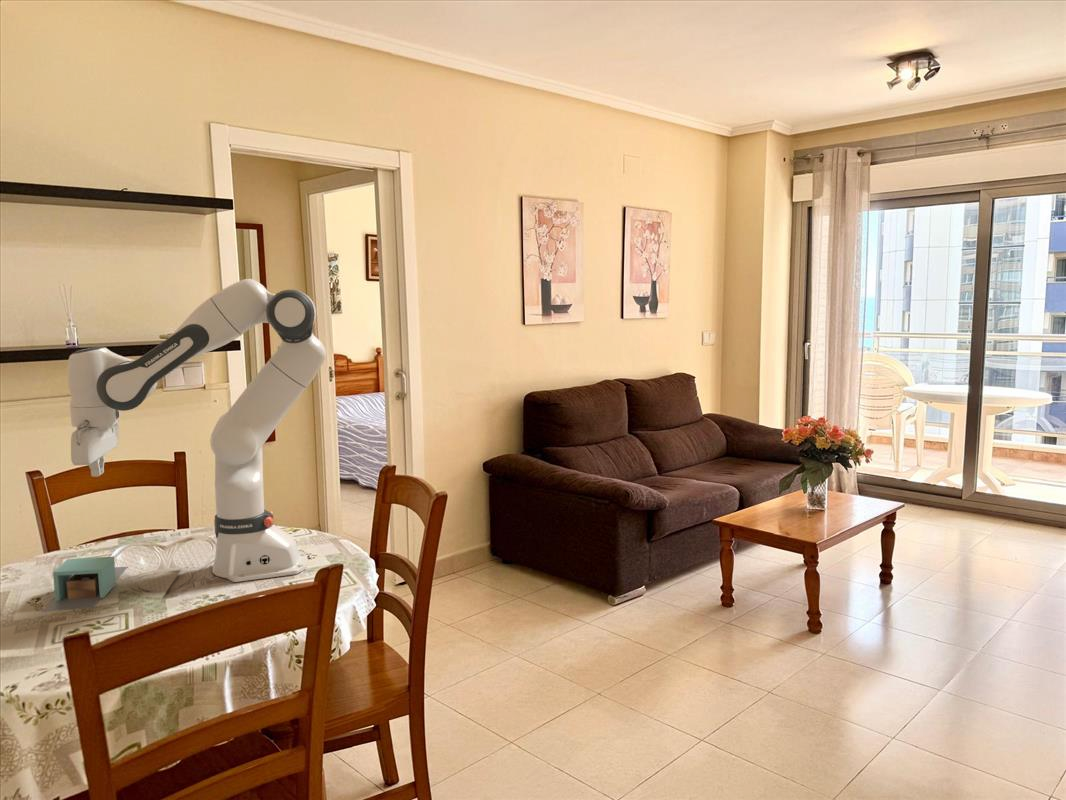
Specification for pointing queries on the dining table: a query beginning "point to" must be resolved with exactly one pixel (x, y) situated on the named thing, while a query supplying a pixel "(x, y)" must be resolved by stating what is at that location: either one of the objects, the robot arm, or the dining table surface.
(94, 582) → the block
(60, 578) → the cover
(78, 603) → the housing base
